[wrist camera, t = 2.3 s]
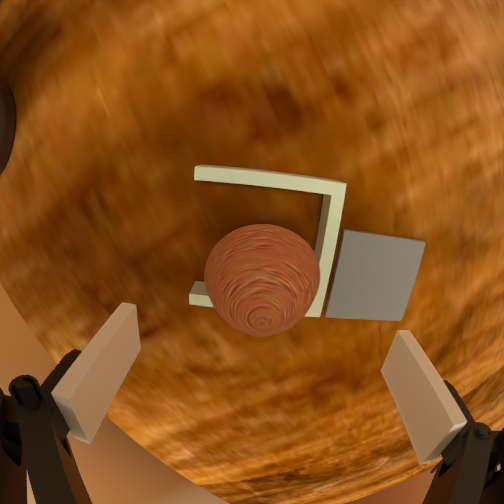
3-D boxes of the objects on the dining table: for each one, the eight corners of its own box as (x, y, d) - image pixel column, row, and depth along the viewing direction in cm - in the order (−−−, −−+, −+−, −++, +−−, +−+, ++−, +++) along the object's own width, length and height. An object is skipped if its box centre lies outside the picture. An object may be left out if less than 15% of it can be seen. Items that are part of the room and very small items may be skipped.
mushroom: (225, 275, 31) (199, 375, 17) (218, 200, 28) (177, 253, 14) (301, 272, 30) (330, 371, 16) (301, 197, 28) (342, 246, 14)
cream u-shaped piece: (195, 290, 31) (189, 304, 29) (201, 164, 27) (194, 166, 24) (315, 302, 32) (319, 317, 29) (337, 180, 27) (346, 183, 24)
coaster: (323, 313, 32) (325, 317, 31) (342, 228, 29) (344, 230, 28) (398, 317, 32) (401, 320, 31) (422, 239, 29) (425, 242, 28)
